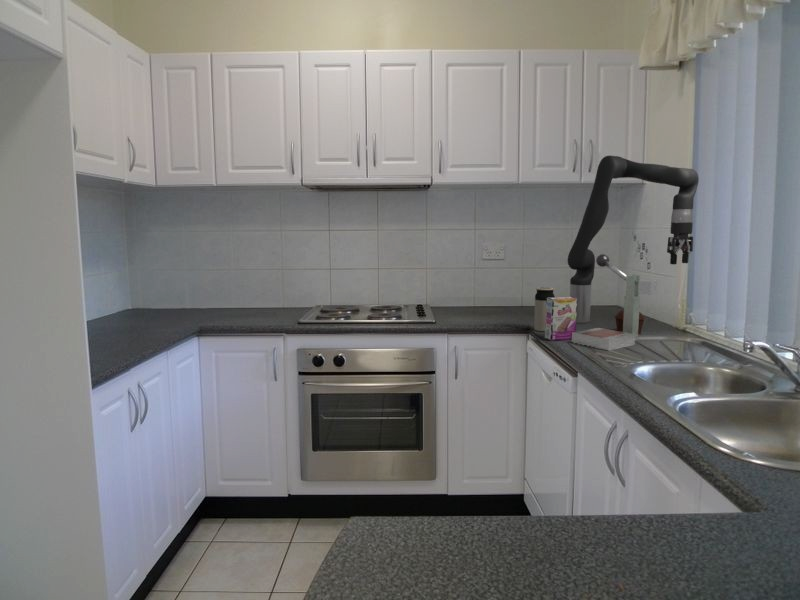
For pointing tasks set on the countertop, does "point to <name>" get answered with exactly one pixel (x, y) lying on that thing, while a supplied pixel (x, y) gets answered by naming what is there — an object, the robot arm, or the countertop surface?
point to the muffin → (619, 321)
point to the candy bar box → (560, 318)
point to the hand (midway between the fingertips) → (679, 263)
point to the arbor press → (630, 323)
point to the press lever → (643, 285)
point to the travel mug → (541, 307)
